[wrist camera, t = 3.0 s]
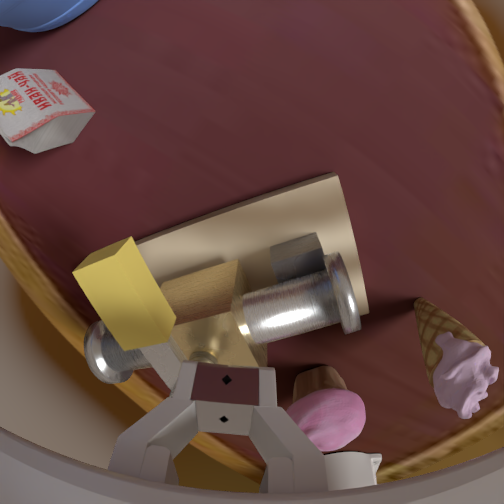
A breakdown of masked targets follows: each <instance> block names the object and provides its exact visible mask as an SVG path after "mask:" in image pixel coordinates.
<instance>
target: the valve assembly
mask: <svg viewBox="0 0 504 504" xmlns="http://www.w3.org/2000/svg"><path fill="white" fill-rule="evenodd" d="M135 244H136V246H137V248H138V250H139V252H140V254H141V256H142V257H143V259H144V261H145V263H146V265H147V267H148V269H149V270H150V272H151V274H152V276H153V278H154V279H155V281H156V283H157V285H158V287H159V288H160V290H161V292H162V294H163V295H164V297H165V299H166V301H167V302H168V304H169V306H170V307H171V309H172V311H173V312H174V314H175V316H176V320H175V323H174V326H173V328H172V331H171V335H172V337H173V338H174V340H175V341H176V343H177V344H178V346H179V347H180V349H181V350H182V352H183V353H184V355H185V356H186V358H187V359H188V360H189V361H196V362H205V363H213V364H222V365H237V366H254V367H267V343H268V342H272V341H276V340H280V339H284V338H287V337H291V336H295V335H298V334H302V333H306V332H309V331H313V330H316V329H319V328H323V327H326V326H330V325H333V324H336V323H339V322H341V325H342V329H343V332H344V334H349V333H352V332H355V331H358V330H361V321H360V316H361V315H364V314H367V313H369V308H368V302H367V297H366V292H365V286H364V281H363V276H362V271H361V267H360V262H359V257H358V253H357V248H356V244H355V240H354V235H353V231H352V227H351V223H350V219H349V215H348V211H347V207H346V203H345V200H344V196H343V192H342V189H341V185H340V181H339V178H338V175H337V174H336V173H335V172H331V173H328V174H325V175H322V176H319V177H315V178H312V179H309V180H306V181H303V182H300V183H296V184H293V185H290V186H287V187H284V188H281V189H278V190H275V191H272V192H269V193H266V194H263V195H260V196H257V197H254V198H251V199H249V200H246V201H243V202H240V203H237V204H234V205H231V206H228V207H226V208H223V209H220V210H217V211H214V212H212V213H209V214H206V215H203V216H201V217H198V218H195V219H192V220H190V221H187V222H184V223H182V224H179V225H176V226H174V227H171V228H169V229H166V230H163V231H161V232H158V233H155V234H153V235H150V236H148V237H145V238H143V239H140V240H138V241H135ZM84 352H85V357H86V360H87V363H88V365H89V367H90V369H91V371H92V372H93V374H94V375H95V376H96V377H97V378H98V379H99V380H101V381H103V382H105V383H110V384H112V383H121V382H125V381H126V380H128V379H129V378H130V376H131V375H132V373H133V370H135V369H141V368H142V369H143V368H150V367H153V366H152V365H151V364H150V362H149V361H148V360H147V358H146V357H145V356H144V354H143V353H142V352H141V350H140V349H139V348H137V349H132V350H127V351H124V350H123V349H122V347H121V346H120V345H119V343H118V342H117V341H116V339H115V338H114V336H113V335H112V334H111V332H110V331H109V329H108V328H107V326H106V325H105V324H104V322H103V321H102V320H101V321H98V322H94V323H93V324H91V325H90V327H89V328H88V329H87V331H86V334H85V338H84Z"/></svg>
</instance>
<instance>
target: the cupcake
mask: <svg viewBox="0 0 504 504" xmlns="http://www.w3.org/2000/svg"><path fill="white" fill-rule="evenodd" d="M286 413H287V414H288V415H289V416H290V418H291V419H292V420H293V421H294V422H295V423H296V424H297V426H298V427H299V428H300V429H301V430H302V431H303V432H304V434H305V435H306V436H307V437H308V438H309V439H310V440H311V441H312V443H313V444H314V445H315V446H316V447H317V448H318V449H319V450H320V451H333V450H337V449H340V448H342V447H344V446H345V445H346V444H348V443H349V442H350V441H352V440H353V439H355V438H356V437H357V436H358V435H359V434H360V432H361V431H362V429H363V426H364V424H365V419H366V415H365V406H364V403H363V402H362V400H361V398H360V397H359V396H358V395H357V394H356V393H354V392H351V391H349V390H348V389H347V388H346V385H345V383H344V380H343V379H342V378H341V377H340V376H339V374H338V373H337V371H336V370H335V369H334V368H332V367H330V366H320V367H317V368H314V369H311V370H308V371H305V372H302V373H300V374H298V375H297V377H296V380H295V383H294V390H293V402H292V405H291V406H290V407H289V408H288V409H287V411H286Z"/></svg>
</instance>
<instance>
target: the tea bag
mask: <svg viewBox="0 0 504 504" xmlns="http://www.w3.org/2000/svg"><path fill="white" fill-rule="evenodd" d="M95 112H96V111H95V110H94V109H93V108H92V107H91V106H90V105H89V104H88V103H87V102H86V101H85V100H84V99H83V98H82V97H81V96H80V95H79V94H78V93H77V92H76V91H75V90H74V89H73V88H72V87H71V86H70V85H69V84H68V83H67V82H66V81H65V80H64V78H63V77H62V76H61V75H60V74H59V73H58V72H57V71H56V70H44V69H14V70H11V71H9V72H7V73H5V74H3V75H1V76H0V134H1V135H2V137H3V138H4V139H5V141H6V142H7V143H8V144H9V146H17V147H21V148H24V149H26V150H28V151H30V152H32V153H34V154H36V153H39V152H42V151H46V150H49V149H52V148H55V147H59V146H62V145H66V144H69V143H73V142H74V141H75V139H76V138H77V136H78V135H79V133H80V132H81V131H82V129H83V128H84V127H85V125H86V124H87V122H88V121H89V120H90V118H91V117H92V116H93V114H94V113H95Z"/></svg>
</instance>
